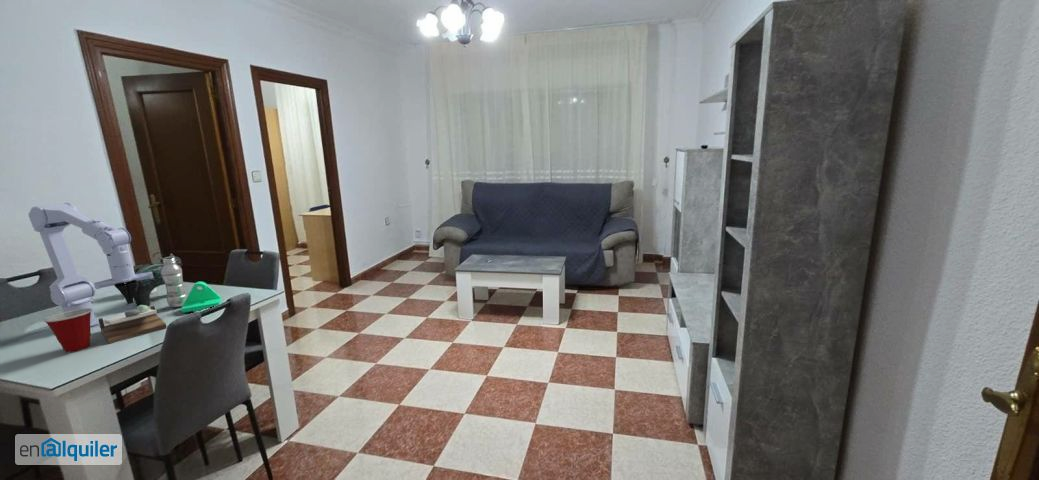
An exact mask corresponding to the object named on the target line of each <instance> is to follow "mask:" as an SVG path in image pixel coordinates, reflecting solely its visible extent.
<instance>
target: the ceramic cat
mask: <svg viewBox="0 0 1039 480" xmlns="http://www.w3.org/2000/svg"><path fill="white" fill-rule="evenodd" d="M157 254H160V255H161V256H162V257H158V259H159V260H160V261H159V262H157V263H152V262H151V263H144V264H140V265H141V266H139V267H138V268H140V267H142V266H144V265H147V264H149V265H148V266H146V267H144V268H142V269H140V270H138V271H137V269H138V268H136V269H135V271H134V272H136V271H137V272H136V273H135V274H140V273H147V272H152V274H153V278H150V279H149V278H148V279H143V280H138V281H136V282H137V286H136V289H135V292H134V298H133V301H135V302H134V303H135V305H136V307H138V306H139V305H146V306H148V307H149V306H151V302H150V299H151V298H150V297H151V294H150V293H151V291H152V290H153V289H154V288H156V287H157V288H158V287H160V286H163V285H165V283H164V280H163V278H162V275H161V270H162V268H163V267H164V264H163V259H164V258H169V257H175V261H176V262H175V263H176V264H177V265H178V266H180V267H181V268H182V266H183V262H182V260H181V258H180V257H178V256H175V255H174V254H173V253H170V254H169V256H165V257H164V255H163V253H162V252H158V251H157V252H154V253H153V255H152V257H154V258H155V255H157Z"/></svg>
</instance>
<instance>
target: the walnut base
mask: <svg viewBox="0 0 1039 480" xmlns="http://www.w3.org/2000/svg"><path fill="white" fill-rule="evenodd" d="M149 309H152V310H156V308H155V305H150V307H149ZM97 321H98V322H99V328H100V331H101V333H102V335H103V336H104V338H105V340H106V342H107V343H108V344H113V343H116V342H120V341H125V340H127V339H131V338H132V339H133V338H135V337H139V336H143V335H146V334H150V333H153V332H157V331H161V330H164V329H167V328H166V327H167V323H166V322H164V321H163V320H162V318H160V317H159V315H158V314H157V313H155V314H151V315H147V316H143V317H139V318H135V319H131V320H127V321H123V322H119V323H115V324H111V325H110V324H108V325H105V324H104V322H105V321H104V319H103V317H100V318H97Z"/></svg>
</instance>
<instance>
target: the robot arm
mask: <svg viewBox="0 0 1039 480" xmlns="http://www.w3.org/2000/svg"><path fill="white" fill-rule="evenodd" d="M28 218H29V220H30V223H31V226H32V228H33V230H34V232H38V233H39V234H40V237H41V239H42V242H43V245H44V247H45V250H46V253H47V255H48V257H49V261H50V263H51V265H52V267H53V270H54V272H55V275H56V279H55V280H54V281H53V282H52V283H51V284H50V285H49V290H50V299H51V301H52V302H53V304H55V305H56V306H59V307H61V308H62V313H63V312H67V311H72V310H78V309H85V308H92V311H91V316H90V328H91V327H94V326H95V327H96V326H98V325H99V326H100V324H99V321H98V318H96V316H95V313H94V307H93V305H92V304H93V303H92V302H91V300H93V297H94V296H95V295H96V290H99V289H102V288H108V287H113V286H114V287H115V288H116V289H117V290H118V291H119V293H120V294H121V295H122V296H123V298H124V299H125V302H126V304H127V305H131V304H134V292H135V289H136V286H137V282H136V281H138V280H143V279H148V278H149V279H150V278H153V274H152V272H147V273H140V274H135V272H134V268H133V266H134V265H133V260H132V256H131V252H130V248H129V245H130V244H131V242H132V236H131V234H130V232H129V231H128V230H127V229H126V228H124V227H113V226H112V225H109V224H107V223H105V222H103V221H102V220H101V219H99V218H97V219H95V218H94V219H90V218H88V217H86V216H85V215H84V214H82V213H80V212H79V210H78V208H77V206H75V205H73V204H72V203H70V202H65V203H64V202H63V203H59V204H51V205H41V206H33V207H31V208H30V210H29V212H28ZM70 225H72V226H75V227H77V228H79V229H81V232H82V234H84V235H86V236H88V237H90V238H91V239H93V240H96V241H97V244H98V245H99V246H100V248H101V249H102V252H103V254H105V256H106V260H107V264H108V268H109V273H110V276H111V278H108V279H104V280H100V281H96V282H93V283H92V282H91V280H90V278H89V276H86V275H82V274H79V272H78V269H77V267H76V264H75V262H74V259H73V257H72V254H71V252H70V251H71V250H70V248H69V246H68V244H67V242H66V239H65V236H64V233H63V232H64V229H66V228H67V227H69V226H70Z"/></svg>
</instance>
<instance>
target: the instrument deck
mask: <svg viewBox="0 0 1039 480" xmlns="http://www.w3.org/2000/svg"><path fill="white" fill-rule="evenodd" d="M136 307H137V306H136ZM155 313H156V314H158V311H157V310H156V309H155V310H152V309H151V308H150V307H149V306H146V305H139V306H138V307H137V308H136V309H134V310H130V311H126V312H124V314H122V315H119V316H115V317H110V318H105V319H104V322H105V323H106V324H108V325H111V324H115V323H119V322H123V321H127V320H131V319H135V318H139V317H143V316H147V315H151V314H155Z"/></svg>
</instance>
